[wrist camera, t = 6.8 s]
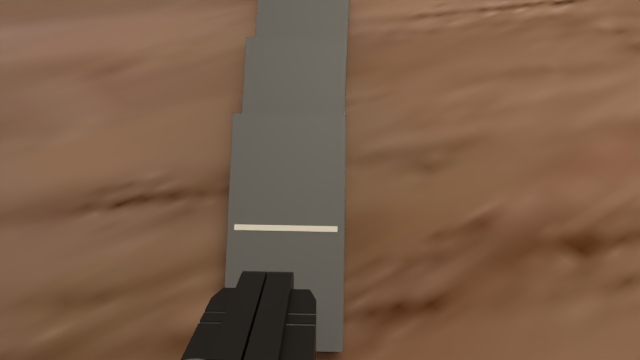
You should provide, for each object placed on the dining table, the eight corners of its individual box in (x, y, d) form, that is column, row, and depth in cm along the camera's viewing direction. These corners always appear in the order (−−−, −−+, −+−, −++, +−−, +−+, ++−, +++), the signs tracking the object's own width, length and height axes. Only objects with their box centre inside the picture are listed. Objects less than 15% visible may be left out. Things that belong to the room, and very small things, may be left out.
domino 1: (342, 160, 20) (349, -20, 21) (247, 156, 20) (258, -22, 21) (341, 165, 22) (347, -2, 23) (253, 161, 22) (264, -4, 23)
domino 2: (340, 243, 18) (346, 39, 19) (233, 239, 18) (246, 36, 19) (339, 242, 19) (345, 54, 21) (241, 238, 20) (252, 51, 21)
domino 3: (343, 352, 16) (345, 114, 17) (221, 349, 16) (232, 112, 17) (341, 339, 17) (343, 124, 18) (231, 337, 17) (240, 122, 18)
